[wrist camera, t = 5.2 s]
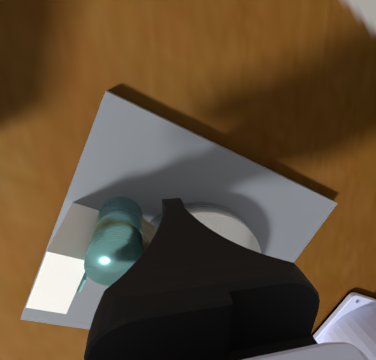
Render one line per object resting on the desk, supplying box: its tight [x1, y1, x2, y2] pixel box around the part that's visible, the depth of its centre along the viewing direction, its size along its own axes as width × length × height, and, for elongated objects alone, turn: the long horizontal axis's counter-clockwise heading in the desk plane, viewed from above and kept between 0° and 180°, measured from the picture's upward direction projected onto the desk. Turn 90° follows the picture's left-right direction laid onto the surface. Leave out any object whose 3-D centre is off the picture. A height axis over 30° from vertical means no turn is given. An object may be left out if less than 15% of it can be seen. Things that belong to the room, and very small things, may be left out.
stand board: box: [20, 90, 338, 330], centre depth 16 cm, size 16×15×1 cm
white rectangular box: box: [26, 203, 99, 314], centre depth 12 cm, size 2×3×4 cm, turn 153°
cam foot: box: [84, 197, 261, 286], centre depth 13 cm, size 11×8×4 cm
